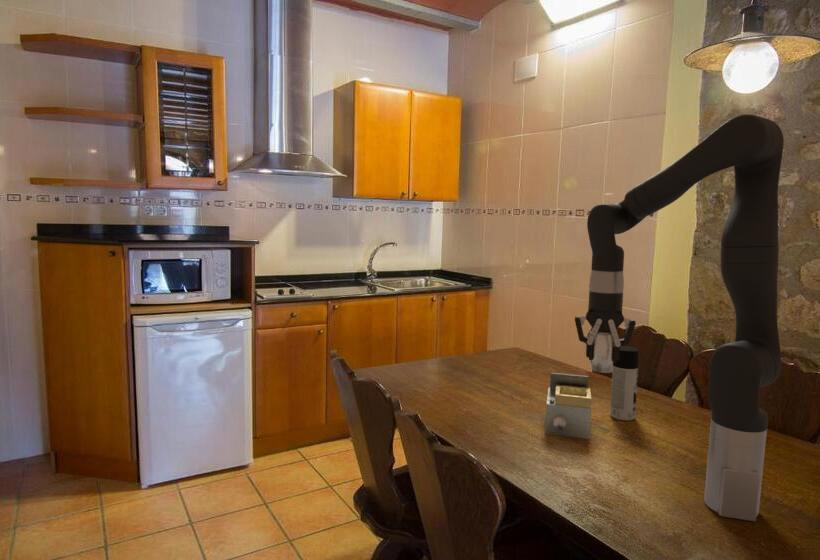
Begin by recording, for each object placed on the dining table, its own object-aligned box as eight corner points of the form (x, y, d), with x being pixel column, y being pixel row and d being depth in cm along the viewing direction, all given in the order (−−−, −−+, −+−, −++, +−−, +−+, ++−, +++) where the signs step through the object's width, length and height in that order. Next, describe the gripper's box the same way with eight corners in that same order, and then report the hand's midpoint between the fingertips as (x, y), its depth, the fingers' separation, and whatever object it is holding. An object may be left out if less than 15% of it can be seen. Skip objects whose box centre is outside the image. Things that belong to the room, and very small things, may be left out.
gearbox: (589, 443, 133) (592, 393, 131) (544, 438, 136) (546, 388, 134) (587, 419, 149) (590, 374, 147) (547, 414, 152) (549, 370, 150)
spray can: (637, 422, 147) (642, 352, 144) (611, 420, 148) (616, 350, 146) (632, 413, 153) (637, 346, 151) (607, 411, 155) (611, 344, 152)
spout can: (613, 373, 124) (615, 328, 123) (591, 371, 125) (593, 327, 124) (611, 368, 128) (614, 324, 127) (590, 366, 130) (592, 323, 129)
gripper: (574, 290, 123) (571, 361, 125) (641, 293, 119) (636, 367, 121) (574, 286, 130) (570, 354, 132) (637, 289, 126) (632, 359, 128)
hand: (602, 360), depth 126 cm, fingers closed on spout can, 4 cm apart
